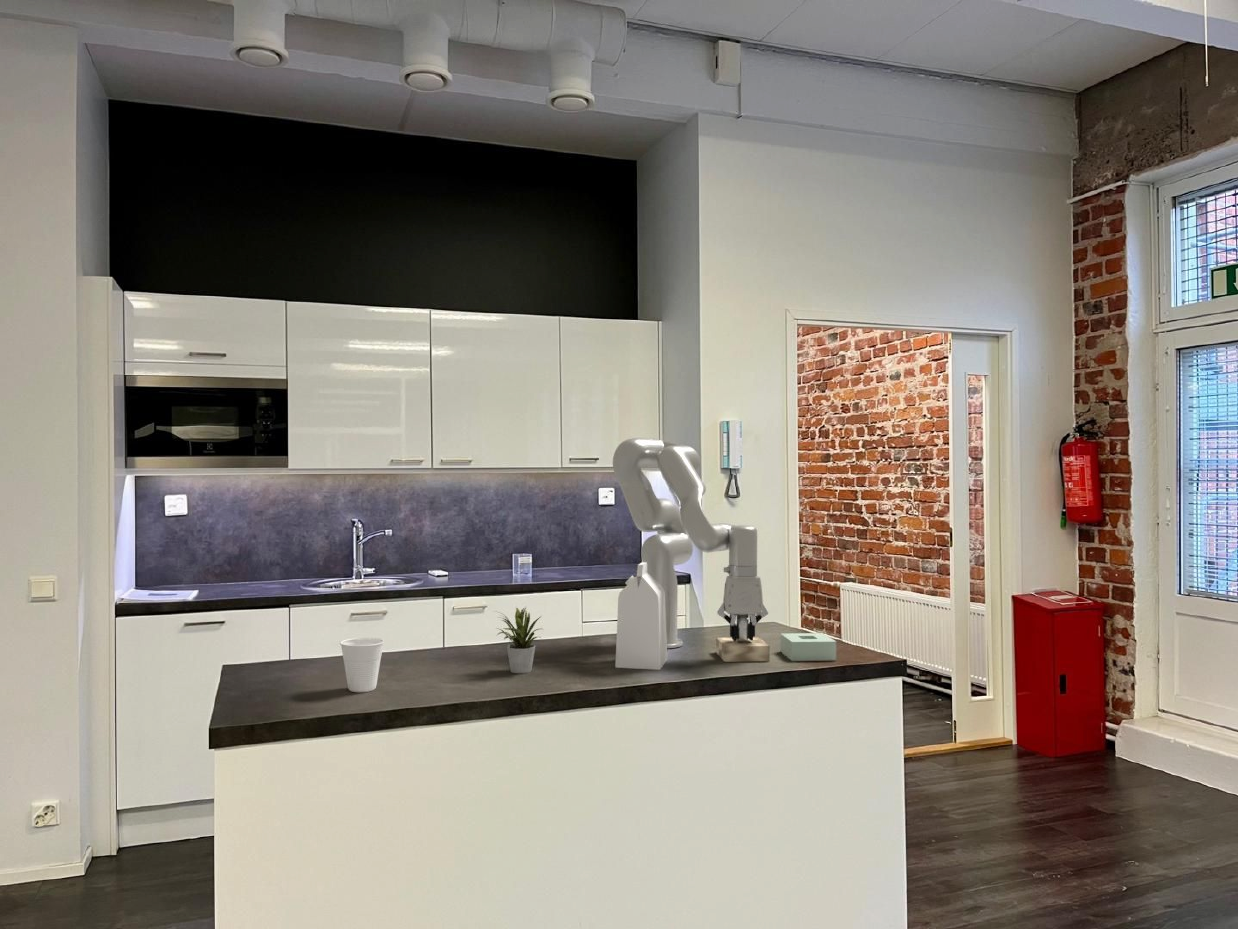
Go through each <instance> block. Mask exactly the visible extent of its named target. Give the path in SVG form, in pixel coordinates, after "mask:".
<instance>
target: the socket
mask: <svg viewBox="0 0 1238 929" xmlns="http://www.w3.org/2000/svg"><path fill="white" fill-rule="evenodd" d="M779 636H780V641H779V642H780V644H779V646H780V647H779V648H780V650H779V652H780V651H781V652H782V655H784V656H785V657H786V656H787V657H786V658H787V659H789V660H790V661H791V662H798V661H799V662H804V661H805V662H806V661H837V641H836V640H834V639H833V638H831V637H830V636H828V635H827V634H825V633H823V632H821V633H819V632H816V633H814V632H809V633H808V632H806V633H803V632H802V633H801V632H798V633H796V632H795V633H793V632H791V633H780V635H779ZM781 652H780V653H781Z"/></svg>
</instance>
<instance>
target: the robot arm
mask: <svg viewBox="0 0 1238 929" xmlns="http://www.w3.org/2000/svg"><path fill="white" fill-rule="evenodd" d="M700 461H701V460H700V455H699V454H698V452H697V450H695V448H693V447H692V446H689V445H684V444H680V443H676V442H671V441H667V440H663V439H658V438H644V437H632V438H628V439H626V440H623V441H622V442H621V443H620V444H618V445H617V447H616V449H615V450H614V453H613V457H612V469H613V473H614V477H615V479H616V481H617V483H618V486H619V487H620V489H621V492H622V494H623V497H624V500H625V502H626V504H627V508H628V511H629V513H630V515H631V518H632V521H633V523H634V526H635V527H636V528H637V530H639V531H640V532H643V533H654V532H657V534H653V535H650V536H649V537H648V538H646V539H645V540H644V541H643V544H642V546H641V551H640V555H641V563H642V562H647V573H648V574H649V575H650V576H651V577H653V578H654V579H655V580H656V581H657V582H658V583H659V584H660V585H661V587H662V588H663V589H664V592H665V613H666V641H667V649H675V648H679V647H681V646H683V643H684V642H683V639H681V638H678V591H679V590H678V578H677V573H676V570H675V569H676V568H675V567H674V566H678V565H679V566H680V565H683V564H686V563H687V562H688V561H689V560H690V559H691V557H692V556H693V551H694V548H693V544H694V546H695V547H696V548H697V549H698V550H699V551H701V552H704V553H707V554H708V553H709V554H710V553H716V552H723V551H728V565H727V566H726V567H725V566H723V573H726V574H728V575H727V576H726V578H725V583H724V590H723V602H722V604H721V605H720V607H719V608H718V610H717V611H716V613H717V615H718V616H719V617H721V618H723V619H724V620H725V621H726V622H727V623H728V624H729V638H732V639H733V640H734V641H736V640H737V615H749V624H748V638H749V639H750V640H753V637H756V625H757V624H758V623H759V622H760V620H762V619H763V618H765V617H766V616H768V615H769V611H768V610H767V608H766V607H765V605H764V600H763V587H762V586H763V585H762V580H761V576H758V529H757V528H756V527H755V526H752V525H735V524H730V523H723V522H721V523H711V522H710V521H709V519H708V517H707V516H706V513H704V510H703V507H702V498H703V496H704V495H705V493H706V488H707V487H706V484H705V483H704V482H703V479H702V478H701V477H700V475H699V474H698V472H697V471H698V469H699V467H700ZM642 468H656V469H657V468H658V469H659V470H660V472H661V474H662V476H663V478H664V479H665V480H666V482H667V484H668V485H669V487H670V490H672V493H673V494H674V496H675V497H676V499H677V500H678V502H679V508H678V506H677V505H676V504H675V503H674V502H673V501H671V500H670V499H667V498H661V497H660V498H658V497H657V496H656V494H655V491H654V489H653V486H652V483H651V482H650V480H649V478H648V477H647V476H646V475H645V474H644V472H643V471H642ZM726 613H727V614H726Z"/></svg>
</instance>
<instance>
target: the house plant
mask: <svg viewBox="0 0 1238 929" xmlns="http://www.w3.org/2000/svg"><path fill="white" fill-rule="evenodd" d="M526 608H527V606H525V607H523V608H522V609H519V608H518V607H515V615H514V617H515V625H516V628H515V627H514V625H513V624H512V622H511V621H510V620H509V618H508V617H507V616H506V615H505V614H504V613H502V612H500V611H497V610H496V611H495V610H494V612H496V613H499V614H502V616H501V615H499V616H498V618H499V619H502V621H503V622H504V623H505V624H507V625H506V626H508V627H504V628H502V629H501V628H497V627H496V628H495V629H497V630H500V632H498V633H497V634H496V636H498V635H500V634H504V635H505V636H504V639H503V640H506V639H509V641H510V642H512V643H511V644H508V645H507V646H506V650H507V656H508V663H509V669H510V672H511V673H513V674H528V673H531V672H532V668H533V662H534V656H535V651H536V645H535V644H532V642H533V641H534V640H535V639H537V638H538V636H534V635H535V632H536V631H539V630H540V628H536V629H534V630H533V628H534V626H535V624H536V623H537V621H539V619H541V618H542V615H540V616H539V617H538V618H537V619H535V620H534V621H533V622H532V623H531V622H530V621H531V613H530V612H528V611H527V609H526ZM520 610H521V611H520ZM530 623H531V625H530ZM529 625H530V626H529ZM504 630H507V631H504ZM532 630H533V631H532ZM542 630H544V629H543V628H542ZM508 631H511V633H512V634H513V635H512V634H510V633H509V632H508ZM531 631H532V632H531ZM539 638H540V639H542V638H541V636H539Z"/></svg>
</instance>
